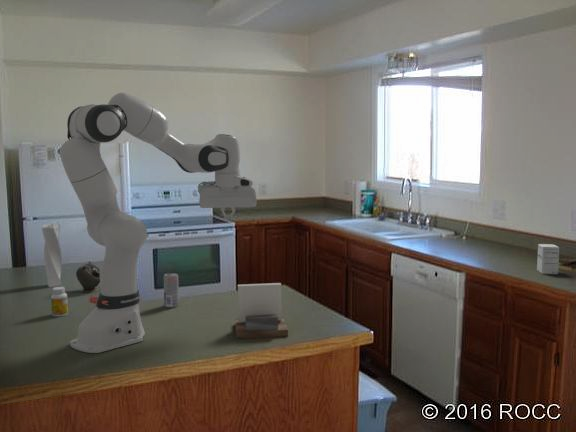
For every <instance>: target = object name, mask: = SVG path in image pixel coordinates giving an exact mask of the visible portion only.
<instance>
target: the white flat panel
mask: <svg viewBox="0 0 576 432" xmlns="http://www.w3.org/2000/svg"><path fill="white" fill-rule="evenodd" d="M237 303H238V304H237V308H238V309H237V310H238V314H237V315H238V320H239V322H245V315H267V314H277V316H278V321H279V320H282V316H283V313H282V311H283V309H282V308H283V307H282V305H283V304H282V303H283V302H282V283H281V282H272V283H271V282H270V283H248V284H247V283H246V284H245V283H243V284H237Z"/></svg>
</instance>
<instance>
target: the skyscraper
mask: <svg viewBox="0 0 576 432" xmlns="http://www.w3.org/2000/svg"><path fill="white" fill-rule="evenodd" d="M55 224H58V226H57V225H55ZM60 231H61V224H60V223H59V222H58V221H52V222H51V223H50V224H44V225H42V226H41V232H42V235H43V239H44V246H43V247H44V248H43V251H44V252H43V256H44V257H43V258H44V268H45V273H46V278H47V283H46V285H47V286H48V287H49V288H55V287H63V283H62V280H61V278H62V277H61V276H62V265H63V263H62V261H63V259H62V258H63V256H62V250H61V245H60V242H59V239H60V238H59V237H60V233H61V232H60Z"/></svg>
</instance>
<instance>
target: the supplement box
mask: <svg viewBox="0 0 576 432" xmlns="http://www.w3.org/2000/svg"><path fill="white" fill-rule="evenodd" d="M536 258H537V262H536V263H537V264H536V271H538V272H539V273H540V274H542V275H559V262H560V260H559V259H560V247H559V246H557V245H556V244H553V243H551V244H550V243H538V244H537V257H536Z"/></svg>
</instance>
